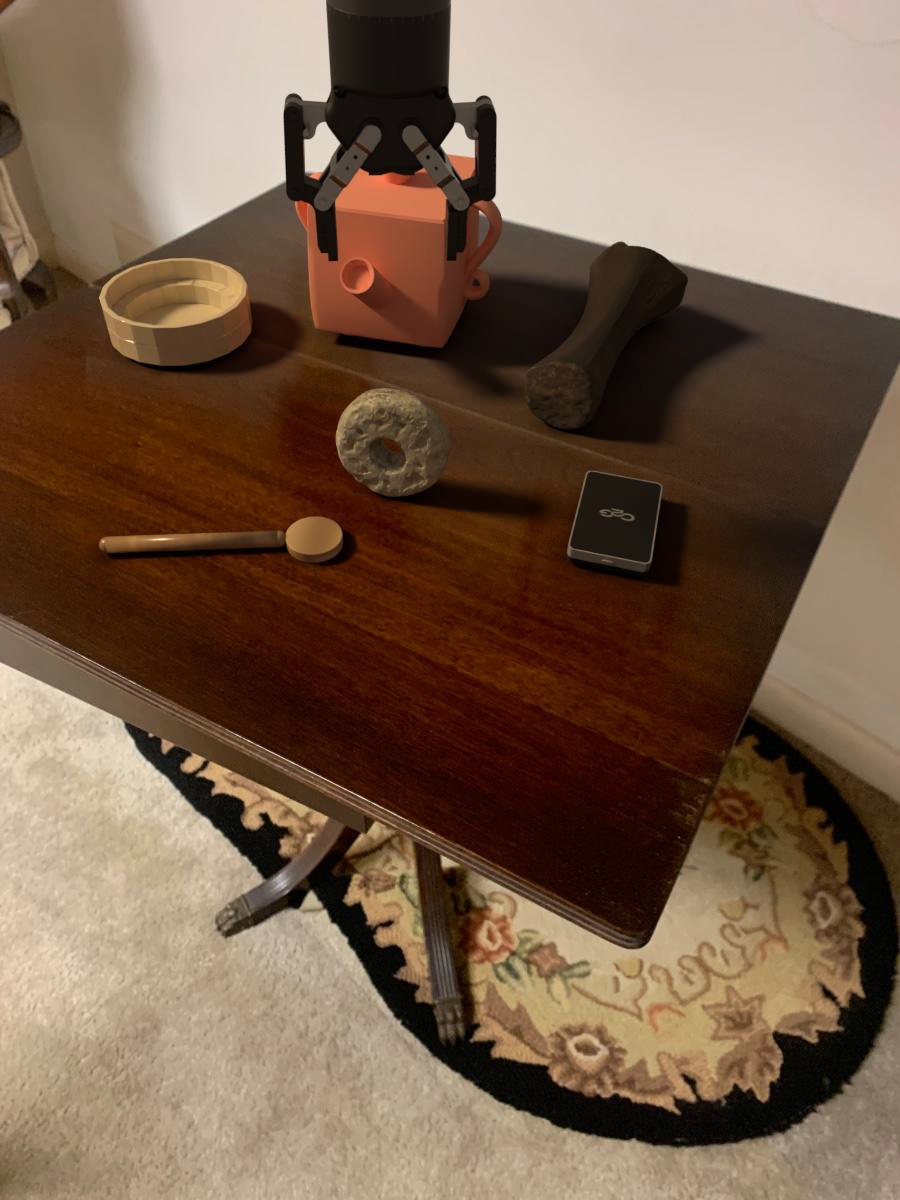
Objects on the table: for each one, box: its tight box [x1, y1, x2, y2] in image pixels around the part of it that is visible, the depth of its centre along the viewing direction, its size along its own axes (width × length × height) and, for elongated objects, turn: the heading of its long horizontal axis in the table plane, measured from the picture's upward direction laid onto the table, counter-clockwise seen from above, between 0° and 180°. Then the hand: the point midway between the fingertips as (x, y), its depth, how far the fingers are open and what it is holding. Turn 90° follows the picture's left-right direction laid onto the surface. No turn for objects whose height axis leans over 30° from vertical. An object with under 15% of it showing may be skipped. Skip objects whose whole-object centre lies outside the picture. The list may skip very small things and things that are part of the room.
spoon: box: [98, 516, 344, 564], centre depth 74 cm, size 20×5×1 cm, turn 95°
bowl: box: [98, 257, 253, 367], centre depth 96 cm, size 15×15×5 cm
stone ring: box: [335, 387, 452, 497], centre depth 77 cm, size 10×4×10 cm, turn 73°
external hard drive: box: [566, 470, 663, 578], centre depth 77 cm, size 7×11×2 cm, turn 165°
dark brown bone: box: [524, 241, 689, 431], centre depth 94 cm, size 11×10×28 cm
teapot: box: [294, 153, 503, 349], centre depth 94 cm, size 25×23×18 cm
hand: (392, 256), depth 65 cm, fingers open, 8 cm apart
